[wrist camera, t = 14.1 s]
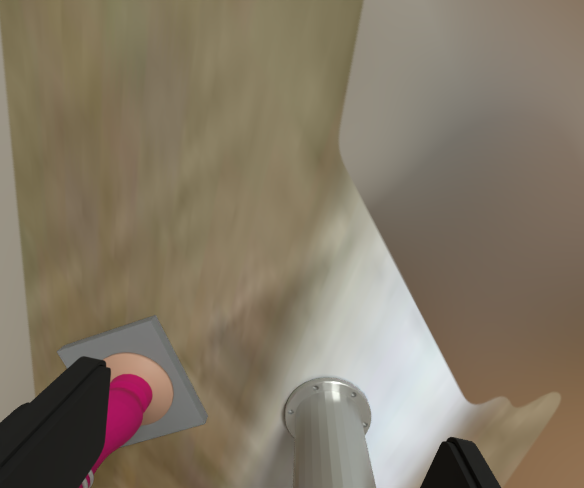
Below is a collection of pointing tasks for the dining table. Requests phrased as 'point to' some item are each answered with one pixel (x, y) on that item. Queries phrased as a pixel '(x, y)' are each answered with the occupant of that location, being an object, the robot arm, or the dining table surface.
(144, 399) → the pepper mill
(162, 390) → the slate board
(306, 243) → the dining table surface
